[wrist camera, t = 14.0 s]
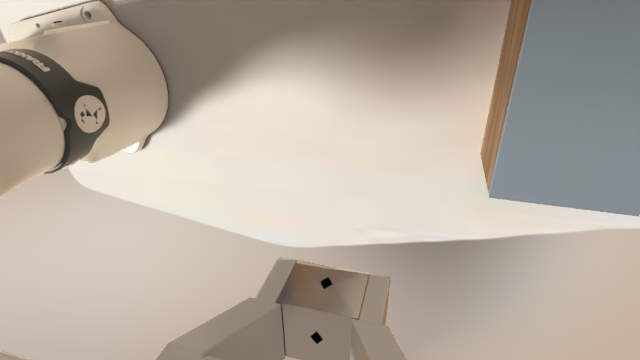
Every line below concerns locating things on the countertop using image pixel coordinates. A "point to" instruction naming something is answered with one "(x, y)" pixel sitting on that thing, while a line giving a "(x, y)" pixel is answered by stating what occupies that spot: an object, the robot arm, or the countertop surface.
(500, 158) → the lid
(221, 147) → the countertop surface
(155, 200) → the countertop surface
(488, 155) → the wooden box
